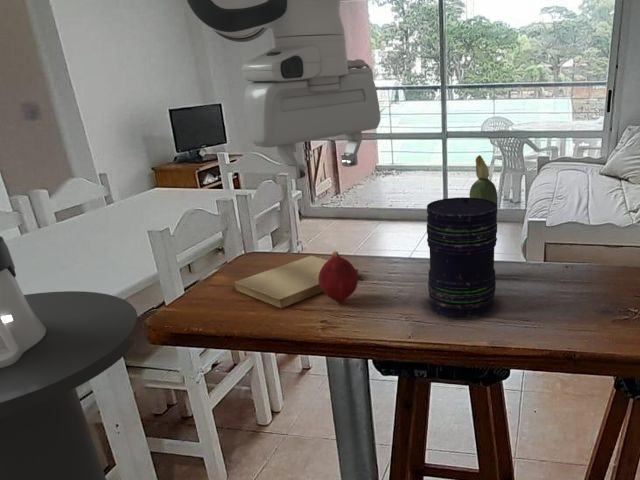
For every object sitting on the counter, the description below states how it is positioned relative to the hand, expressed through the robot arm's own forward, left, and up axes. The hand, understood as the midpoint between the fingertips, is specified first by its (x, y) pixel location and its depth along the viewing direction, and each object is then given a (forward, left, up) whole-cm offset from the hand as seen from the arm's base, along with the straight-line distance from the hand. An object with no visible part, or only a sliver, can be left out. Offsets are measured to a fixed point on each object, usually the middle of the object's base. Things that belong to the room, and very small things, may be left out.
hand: (324, 171), depth 79 cm
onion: (+1, 0, -20) cm, 20 cm away
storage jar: (+10, -16, -20) cm, 27 cm away
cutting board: (+1, +11, -20) cm, 23 cm away
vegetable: (+21, -12, -20) cm, 32 cm away
